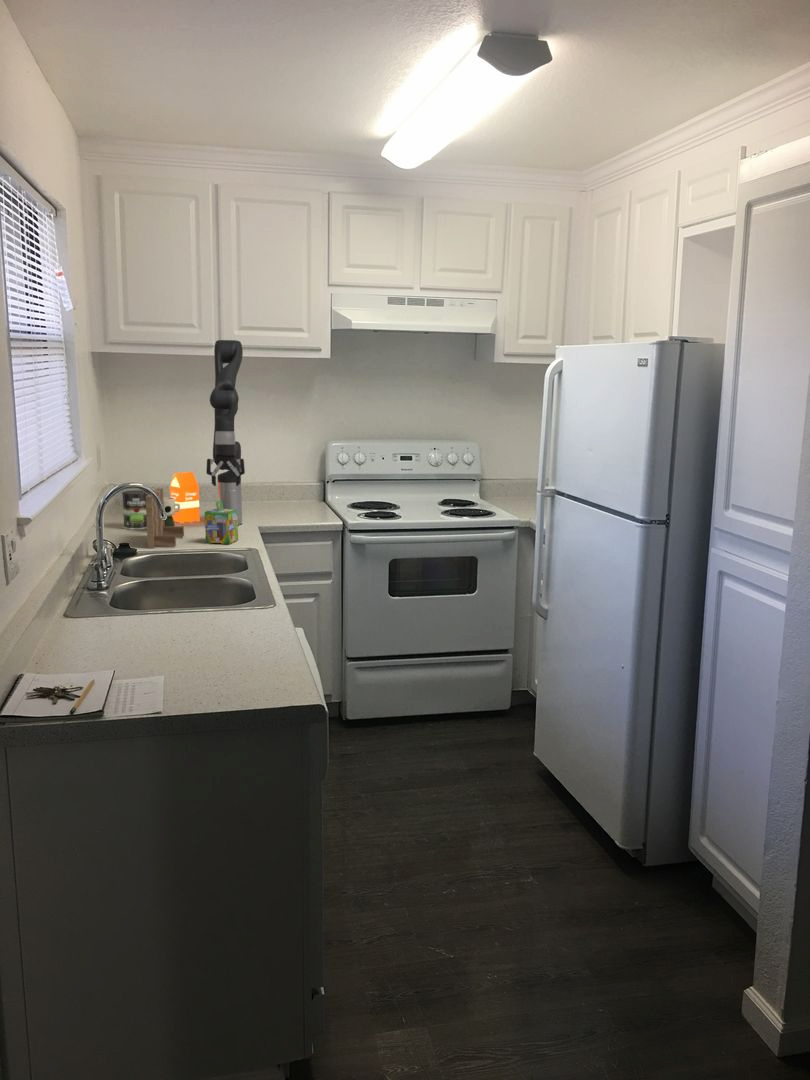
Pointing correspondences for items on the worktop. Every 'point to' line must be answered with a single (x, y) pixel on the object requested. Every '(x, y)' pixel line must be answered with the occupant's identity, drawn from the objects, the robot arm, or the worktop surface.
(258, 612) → the worktop surface
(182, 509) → the orange juice
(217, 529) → the chalk box
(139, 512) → the coffee can
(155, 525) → the display bay
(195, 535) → the worktop surface
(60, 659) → the worktop surface
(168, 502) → the character mug
